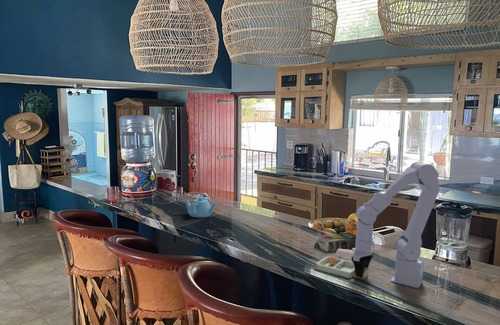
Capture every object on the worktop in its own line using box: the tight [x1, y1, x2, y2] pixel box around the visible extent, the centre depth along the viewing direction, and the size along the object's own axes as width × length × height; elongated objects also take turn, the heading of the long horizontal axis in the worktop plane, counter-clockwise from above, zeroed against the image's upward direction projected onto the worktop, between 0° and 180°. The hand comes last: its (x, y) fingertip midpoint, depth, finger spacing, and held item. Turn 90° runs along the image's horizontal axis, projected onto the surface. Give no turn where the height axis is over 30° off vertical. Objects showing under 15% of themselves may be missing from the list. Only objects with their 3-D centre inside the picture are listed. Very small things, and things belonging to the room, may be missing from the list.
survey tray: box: [314, 255, 355, 279], centre depth 151 cm, size 14×12×3 cm
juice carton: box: [314, 232, 356, 252], centre depth 179 cm, size 20×10×6 cm, turn 117°
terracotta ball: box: [328, 255, 338, 265], centre depth 154 cm, size 4×4×4 cm
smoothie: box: [335, 249, 354, 262], centre depth 159 cm, size 6×6×14 cm
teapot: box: [184, 196, 217, 219], centre depth 228 cm, size 15×15×11 cm
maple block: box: [353, 267, 369, 280], centre depth 144 cm, size 4×4×4 cm
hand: (361, 274), depth 144 cm, fingers closed on maple block, 4 cm apart
